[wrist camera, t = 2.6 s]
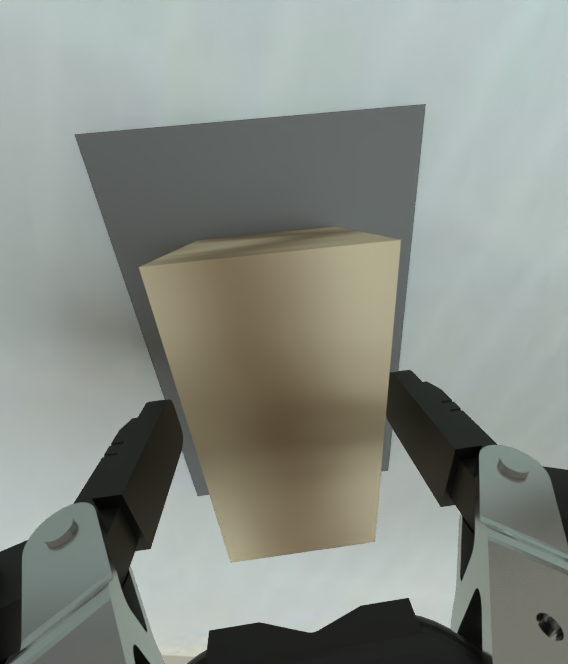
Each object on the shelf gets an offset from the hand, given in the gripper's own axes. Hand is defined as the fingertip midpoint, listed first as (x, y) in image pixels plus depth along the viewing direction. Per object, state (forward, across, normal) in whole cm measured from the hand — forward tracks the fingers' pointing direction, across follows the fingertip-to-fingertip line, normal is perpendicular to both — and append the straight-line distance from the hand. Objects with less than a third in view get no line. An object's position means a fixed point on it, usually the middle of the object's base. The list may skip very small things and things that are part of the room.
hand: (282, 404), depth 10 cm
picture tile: (+5, 0, 0) cm, 5 cm away
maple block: (+4, 0, 0) cm, 4 cm away
